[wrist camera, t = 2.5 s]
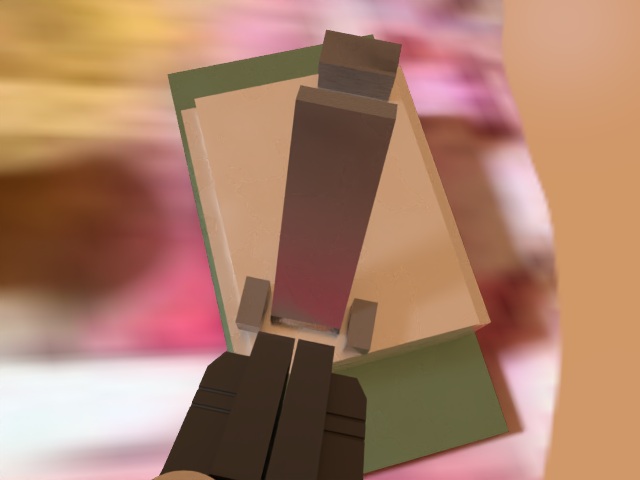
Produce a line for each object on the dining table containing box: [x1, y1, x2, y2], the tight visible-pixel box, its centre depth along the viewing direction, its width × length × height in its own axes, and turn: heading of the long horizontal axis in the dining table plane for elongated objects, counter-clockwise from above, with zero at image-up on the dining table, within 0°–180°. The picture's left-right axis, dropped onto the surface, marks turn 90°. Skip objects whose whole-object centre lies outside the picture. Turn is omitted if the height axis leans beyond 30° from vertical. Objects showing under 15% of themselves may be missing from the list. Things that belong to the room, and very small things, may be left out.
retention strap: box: [270, 85, 398, 335], centre depth 22 cm, size 12×3×1 cm
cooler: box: [168, 30, 509, 474], centre depth 30 cm, size 24×13×8 cm, turn 15°
